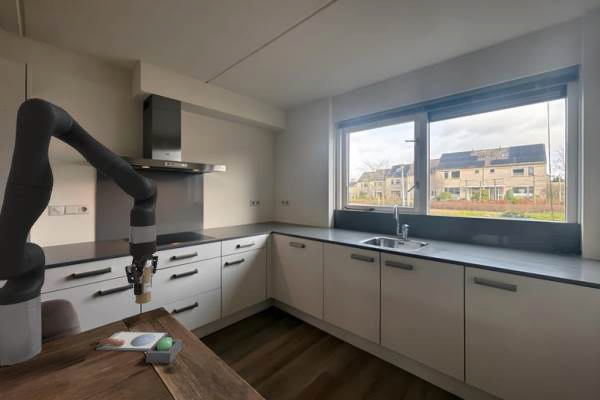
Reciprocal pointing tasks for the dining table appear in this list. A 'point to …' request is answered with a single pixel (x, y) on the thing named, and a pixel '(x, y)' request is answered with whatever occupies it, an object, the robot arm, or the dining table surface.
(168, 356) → the button box
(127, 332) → the tray with round recess
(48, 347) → the dining table surface
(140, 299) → the sprinkles bottle
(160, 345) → the button
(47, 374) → the dining table surface
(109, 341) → the pink rounded rod
